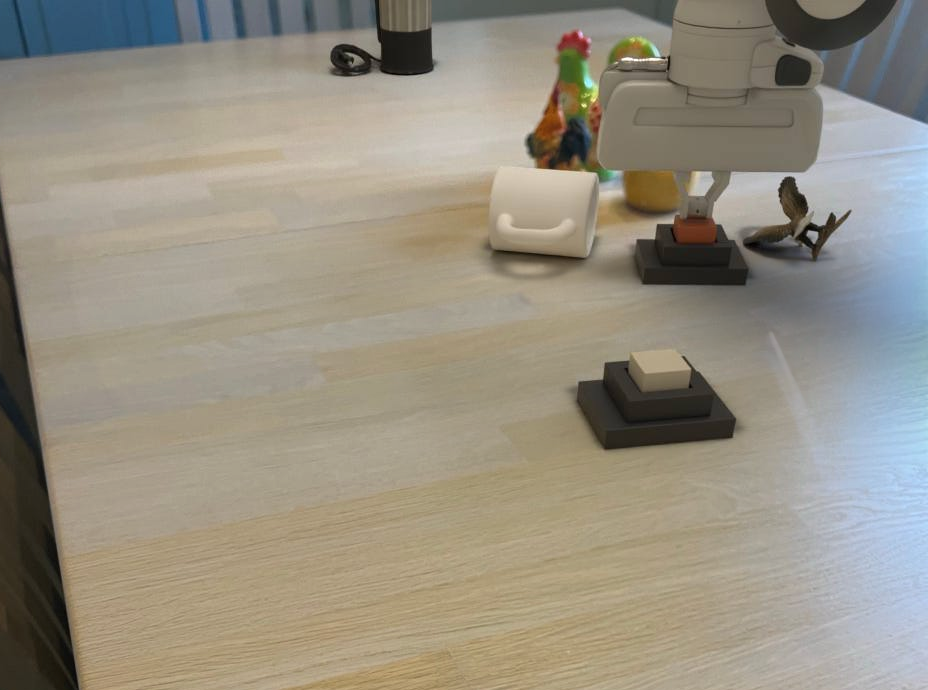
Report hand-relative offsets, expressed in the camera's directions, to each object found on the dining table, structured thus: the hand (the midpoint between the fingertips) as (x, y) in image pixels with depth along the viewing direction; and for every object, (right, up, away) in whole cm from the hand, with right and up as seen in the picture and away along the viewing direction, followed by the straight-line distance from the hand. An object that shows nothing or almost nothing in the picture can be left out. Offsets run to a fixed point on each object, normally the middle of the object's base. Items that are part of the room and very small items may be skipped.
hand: (694, 217), depth 99 cm
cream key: (-8, -22, -22) cm, 32 cm away
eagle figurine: (+11, 0, +8) cm, 14 cm away
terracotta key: (0, -2, +1) cm, 2 cm away
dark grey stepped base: (0, -4, +3) cm, 5 cm away
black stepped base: (-8, -24, -20) cm, 32 cm away
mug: (-15, -2, +6) cm, 16 cm away
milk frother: (-35, +55, +72) cm, 97 cm away
